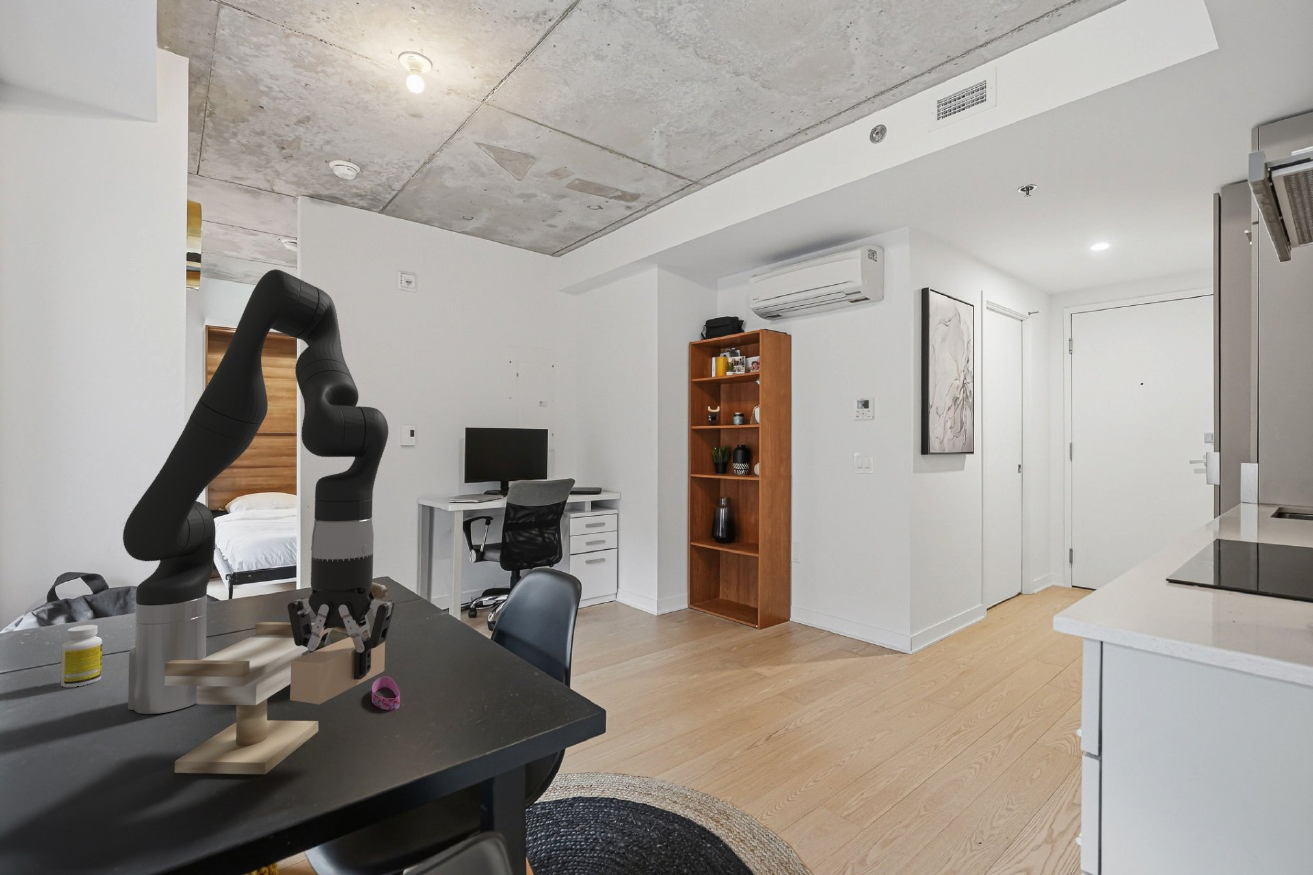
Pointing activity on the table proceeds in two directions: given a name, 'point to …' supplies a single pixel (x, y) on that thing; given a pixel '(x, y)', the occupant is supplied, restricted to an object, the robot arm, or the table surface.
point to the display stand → (244, 702)
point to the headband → (385, 702)
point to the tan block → (330, 671)
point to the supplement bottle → (81, 657)
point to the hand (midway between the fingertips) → (339, 676)
